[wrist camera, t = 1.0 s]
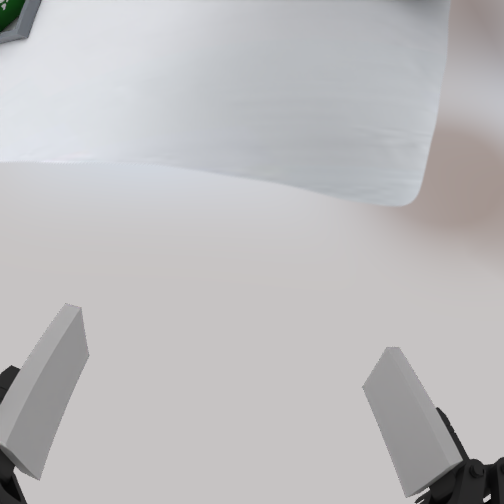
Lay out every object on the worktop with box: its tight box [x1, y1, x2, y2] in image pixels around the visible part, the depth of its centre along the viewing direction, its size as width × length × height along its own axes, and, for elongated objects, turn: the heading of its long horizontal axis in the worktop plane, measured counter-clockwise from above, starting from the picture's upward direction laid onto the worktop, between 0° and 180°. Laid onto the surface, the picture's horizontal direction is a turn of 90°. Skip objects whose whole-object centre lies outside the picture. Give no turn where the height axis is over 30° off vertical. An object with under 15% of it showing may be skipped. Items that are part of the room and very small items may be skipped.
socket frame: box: [0, 0, 41, 43], centre depth 19 cm, size 14×14×3 cm
